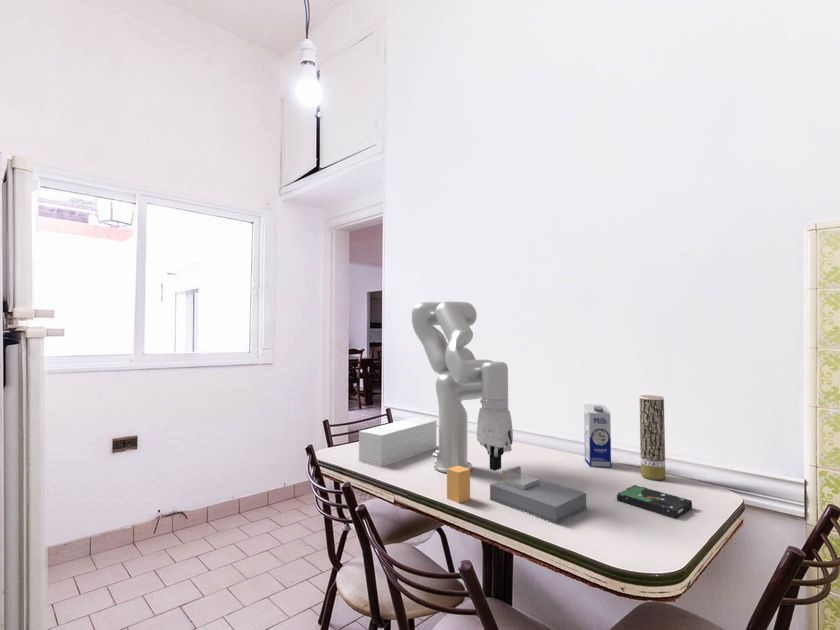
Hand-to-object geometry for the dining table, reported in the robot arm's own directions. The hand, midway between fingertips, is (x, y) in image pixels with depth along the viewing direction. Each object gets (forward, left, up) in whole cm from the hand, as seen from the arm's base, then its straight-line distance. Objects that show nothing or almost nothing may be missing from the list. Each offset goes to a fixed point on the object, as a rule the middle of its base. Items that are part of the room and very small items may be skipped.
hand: (495, 468), depth 126 cm
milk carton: (+7, +46, -6) cm, 47 cm away
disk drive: (+34, +23, -7) cm, 42 cm away
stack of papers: (-47, +2, -6) cm, 48 cm away
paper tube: (+25, +46, -6) cm, 53 cm away
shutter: (+9, 0, -2) cm, 9 cm away
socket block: (+14, 0, -6) cm, 15 cm away
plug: (-2, -13, -6) cm, 14 cm away
